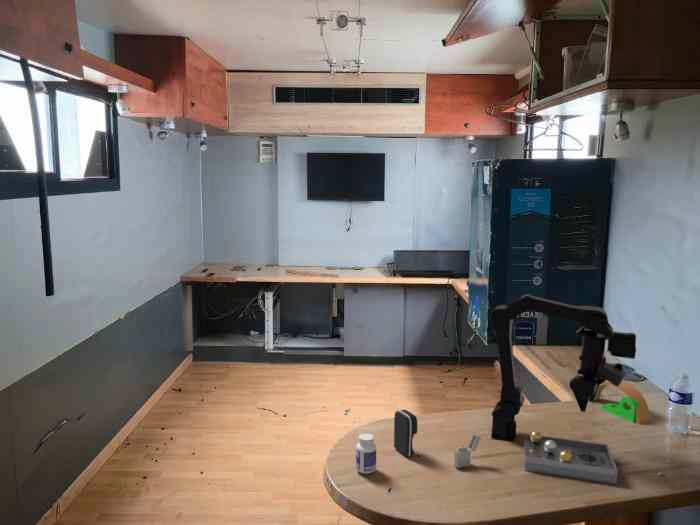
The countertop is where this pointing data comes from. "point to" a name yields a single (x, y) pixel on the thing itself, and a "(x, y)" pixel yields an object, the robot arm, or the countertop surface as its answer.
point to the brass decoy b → (565, 456)
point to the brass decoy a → (535, 436)
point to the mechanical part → (623, 408)
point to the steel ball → (550, 446)
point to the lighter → (466, 452)
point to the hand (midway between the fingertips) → (587, 406)
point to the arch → (632, 393)
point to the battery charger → (404, 431)
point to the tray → (585, 465)
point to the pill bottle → (366, 454)
